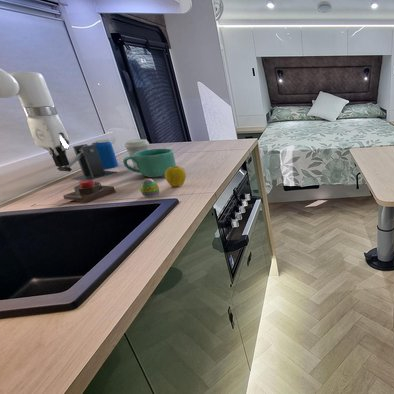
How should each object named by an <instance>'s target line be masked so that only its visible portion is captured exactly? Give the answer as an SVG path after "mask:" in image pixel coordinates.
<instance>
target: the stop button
mask: <svg viewBox="0 0 394 394" xmlns="http://www.w3.org/2000/svg"><path fill="white" fill-rule="evenodd" d="M94 182H95V181H94V179H93V180H79V182H78V185H79V186H80V188H86V187H91V186H94V185H95V184H94Z"/></svg>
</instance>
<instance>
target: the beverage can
mask: <svg viewBox="0 0 394 394" xmlns="http://www.w3.org/2000/svg"><path fill="white" fill-rule="evenodd" d="M91 145H96V148H97V151H98V154H99V157H100V160H101V163H102V166H103V169H104V170H108V169H113V168H118V167H119V163H118V159H117V156H116V153H115V150H114V146H113V144H112V142H111V141H110V140H109V139H101V140H93V141H92V142H91Z"/></svg>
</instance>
